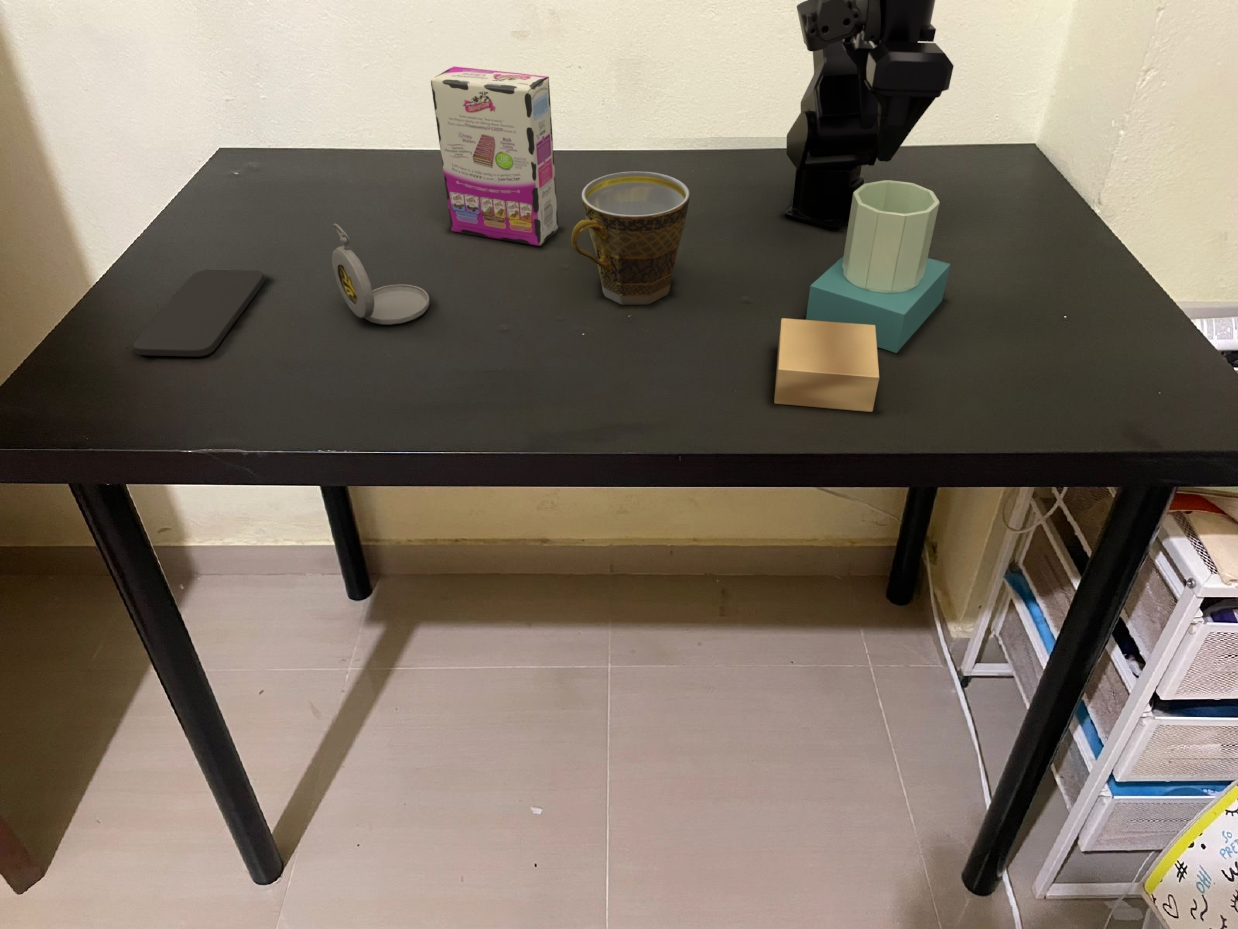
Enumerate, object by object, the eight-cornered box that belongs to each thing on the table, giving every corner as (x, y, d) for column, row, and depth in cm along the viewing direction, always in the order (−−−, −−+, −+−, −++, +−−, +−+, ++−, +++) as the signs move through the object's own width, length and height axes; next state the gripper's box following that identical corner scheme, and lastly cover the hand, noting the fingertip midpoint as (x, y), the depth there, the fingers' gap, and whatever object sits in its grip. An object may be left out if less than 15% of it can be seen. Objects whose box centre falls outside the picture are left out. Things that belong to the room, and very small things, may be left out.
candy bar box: (560, 228, 104) (552, 74, 93) (540, 248, 100) (529, 90, 90) (471, 213, 107) (453, 62, 96) (448, 231, 103) (427, 77, 93)
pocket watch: (442, 298, 92) (427, 202, 86) (399, 343, 86) (380, 242, 80) (369, 286, 94) (349, 191, 88) (322, 328, 88) (297, 229, 82)
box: (805, 323, 88) (810, 285, 85) (855, 275, 95) (861, 239, 92) (896, 353, 84) (904, 314, 81) (942, 301, 91) (950, 263, 88)
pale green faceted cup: (829, 279, 86) (840, 202, 81) (863, 249, 90) (875, 173, 86) (901, 302, 83) (918, 222, 78) (933, 269, 87) (950, 191, 82)
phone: (267, 270, 95) (208, 350, 84) (269, 277, 96) (210, 358, 84) (196, 269, 96) (127, 348, 84) (198, 276, 96) (130, 356, 85)
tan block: (773, 404, 78) (778, 368, 76) (777, 351, 84) (781, 317, 82) (872, 412, 77) (879, 377, 75) (869, 358, 83) (875, 324, 81)
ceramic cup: (635, 255, 99) (635, 162, 92) (707, 288, 93) (712, 191, 87) (541, 300, 92) (534, 203, 85) (613, 339, 86) (611, 238, 80)
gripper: (798, -65, 86) (777, 110, 95) (826, -28, 71) (798, 176, 80) (921, -62, 86) (888, 114, 95) (975, -23, 71) (930, 181, 80)
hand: (874, 143), depth 88 cm, fingers open, 9 cm apart
